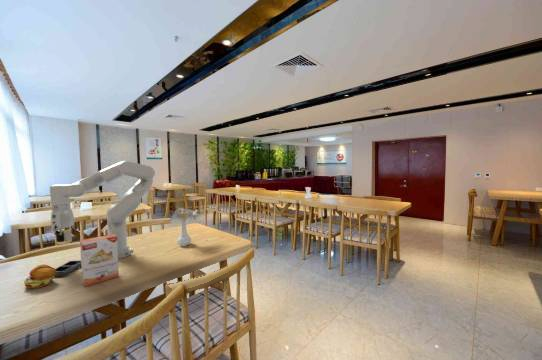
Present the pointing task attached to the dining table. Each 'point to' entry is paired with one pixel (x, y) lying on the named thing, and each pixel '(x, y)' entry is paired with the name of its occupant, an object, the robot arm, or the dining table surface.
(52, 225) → the robot arm
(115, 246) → the cracker box
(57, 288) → the dining table surface
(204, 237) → the dining table surface
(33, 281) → the cheeseburger
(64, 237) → the gold block
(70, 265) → the tray
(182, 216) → the flower vase
